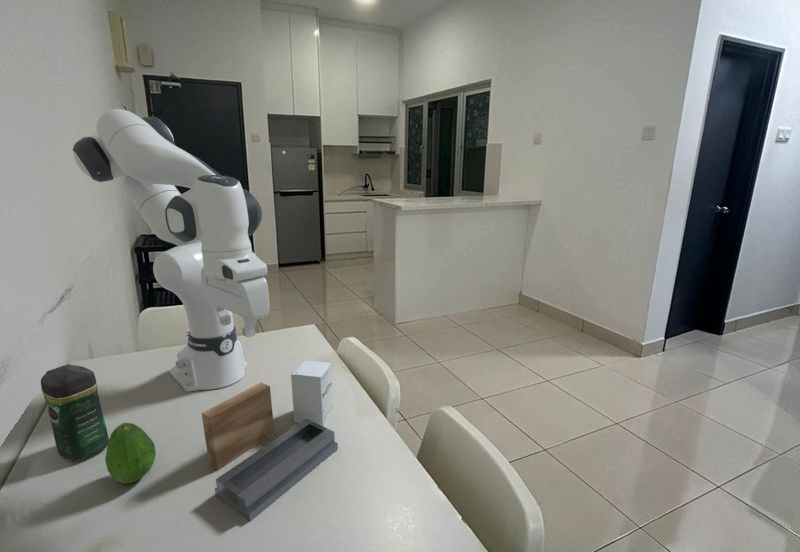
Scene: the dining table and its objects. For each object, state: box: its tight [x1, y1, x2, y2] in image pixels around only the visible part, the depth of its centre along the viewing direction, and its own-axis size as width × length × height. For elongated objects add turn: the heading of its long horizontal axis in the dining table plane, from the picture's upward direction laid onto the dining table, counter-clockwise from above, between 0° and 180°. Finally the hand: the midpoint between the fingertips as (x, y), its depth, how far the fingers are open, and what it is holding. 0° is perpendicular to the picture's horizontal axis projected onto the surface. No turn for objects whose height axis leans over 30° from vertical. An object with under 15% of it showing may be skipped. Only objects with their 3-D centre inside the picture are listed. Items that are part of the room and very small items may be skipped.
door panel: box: [201, 382, 275, 471], centre depth 87 cm, size 3×14×12 cm, turn 146°
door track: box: [214, 419, 339, 522], centre depth 81 cm, size 10×22×4 cm, turn 146°
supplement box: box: [290, 360, 334, 426], centre depth 98 cm, size 7×7×13 cm
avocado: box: [104, 422, 157, 484], centre depth 78 cm, size 8×8×12 cm
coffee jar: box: [40, 363, 110, 462], centre depth 86 cm, size 10×8×19 cm
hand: (237, 329), depth 82 cm, fingers open, 8 cm apart
